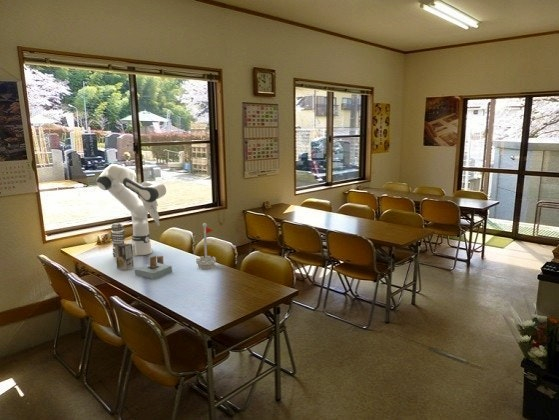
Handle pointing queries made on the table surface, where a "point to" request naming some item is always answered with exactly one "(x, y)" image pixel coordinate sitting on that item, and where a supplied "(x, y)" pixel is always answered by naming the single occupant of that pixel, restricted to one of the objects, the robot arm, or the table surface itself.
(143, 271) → the bored board
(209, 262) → the flag stand
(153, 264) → the long pin
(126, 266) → the coffee box
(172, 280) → the table surface
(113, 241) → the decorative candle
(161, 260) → the short pin
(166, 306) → the table surface
